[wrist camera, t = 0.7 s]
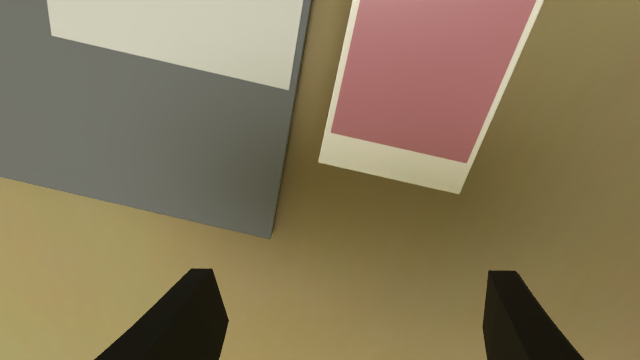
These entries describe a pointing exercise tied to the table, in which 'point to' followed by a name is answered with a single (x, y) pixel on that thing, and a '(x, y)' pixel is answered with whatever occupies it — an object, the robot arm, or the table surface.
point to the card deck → (422, 86)
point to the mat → (154, 102)
